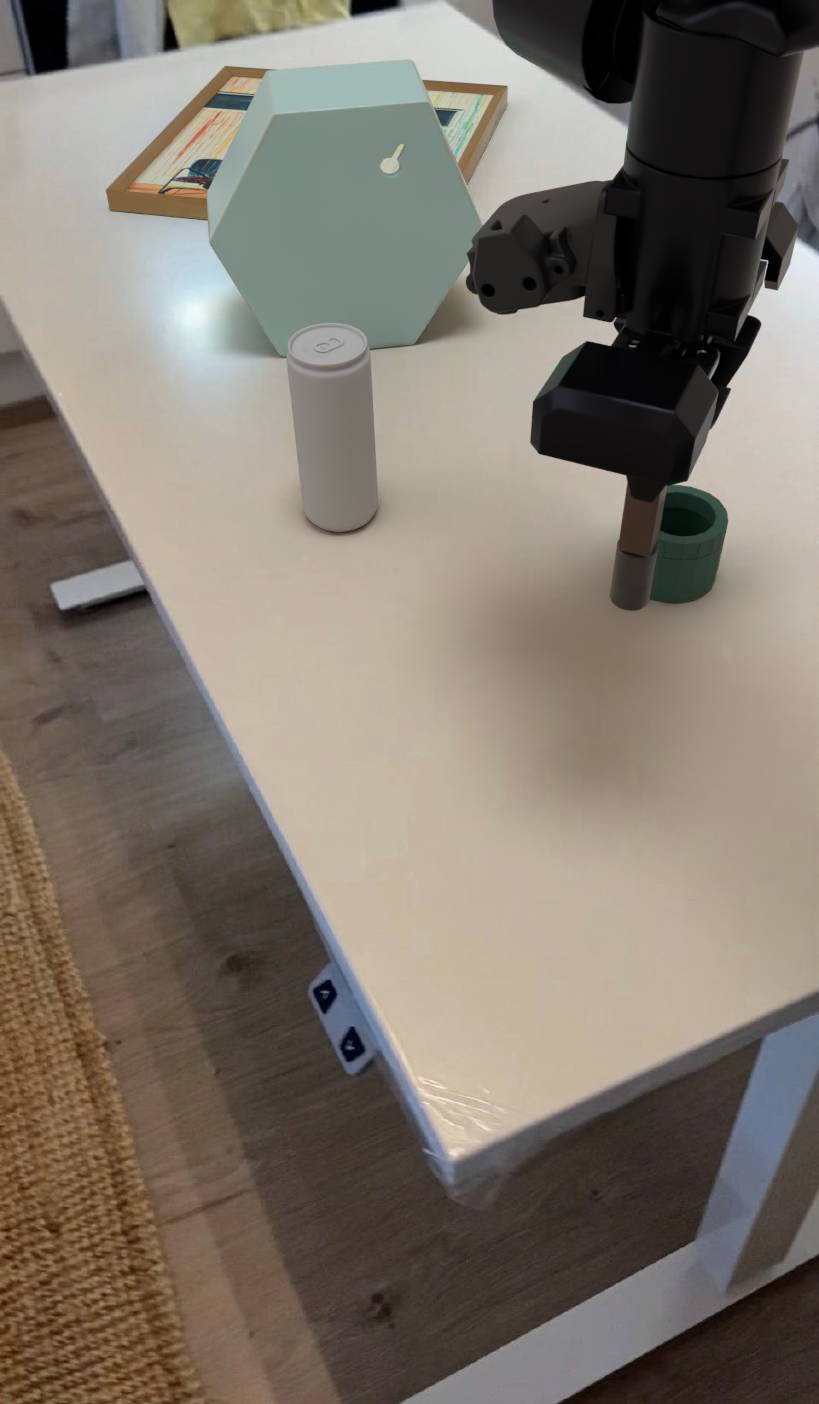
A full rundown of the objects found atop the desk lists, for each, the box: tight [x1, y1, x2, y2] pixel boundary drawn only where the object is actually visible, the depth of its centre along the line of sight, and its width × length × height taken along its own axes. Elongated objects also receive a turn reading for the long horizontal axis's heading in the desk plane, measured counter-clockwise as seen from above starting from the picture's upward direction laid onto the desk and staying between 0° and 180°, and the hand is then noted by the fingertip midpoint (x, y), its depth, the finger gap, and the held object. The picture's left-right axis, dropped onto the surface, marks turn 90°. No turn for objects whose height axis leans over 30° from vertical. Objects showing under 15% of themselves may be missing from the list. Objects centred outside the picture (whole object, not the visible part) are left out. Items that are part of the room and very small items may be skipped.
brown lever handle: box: [609, 481, 667, 612], centre depth 56 cm, size 2×2×13 cm
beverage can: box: [286, 323, 379, 533], centre depth 72 cm, size 5×5×12 cm
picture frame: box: [105, 65, 509, 221], centre depth 113 cm, size 30×2×30 cm
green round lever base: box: [649, 484, 729, 604], centre depth 70 cm, size 5×6×4 cm
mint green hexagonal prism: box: [206, 59, 484, 358], centre depth 86 cm, size 17×8×21 cm
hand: (648, 486), depth 56 cm, fingers closed on brown lever handle, 2 cm apart
